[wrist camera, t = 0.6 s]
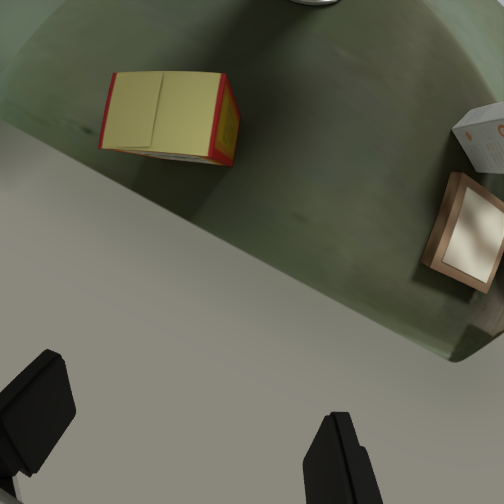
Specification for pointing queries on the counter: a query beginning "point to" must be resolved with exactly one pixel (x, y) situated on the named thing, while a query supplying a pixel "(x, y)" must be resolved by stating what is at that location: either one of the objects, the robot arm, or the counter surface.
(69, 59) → the counter surface
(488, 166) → the small box
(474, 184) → the picture frame
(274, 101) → the counter surface
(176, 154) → the baking soda box
